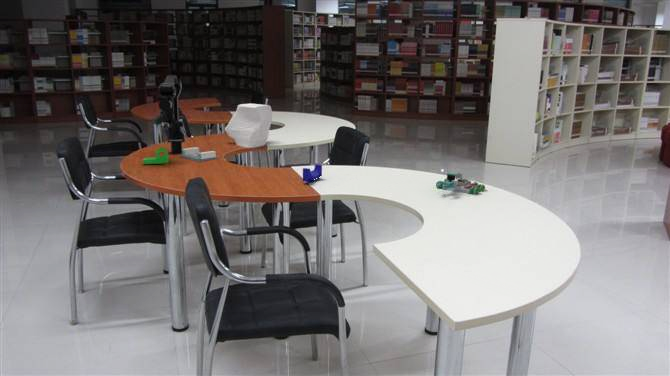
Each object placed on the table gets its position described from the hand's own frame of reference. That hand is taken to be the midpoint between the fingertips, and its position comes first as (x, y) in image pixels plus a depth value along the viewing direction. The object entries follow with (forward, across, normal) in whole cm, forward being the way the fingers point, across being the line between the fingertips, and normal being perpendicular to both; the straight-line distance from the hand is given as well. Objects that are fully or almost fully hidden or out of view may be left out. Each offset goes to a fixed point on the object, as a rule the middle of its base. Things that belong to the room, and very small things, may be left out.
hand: (169, 139), depth 282 cm
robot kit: (+12, +138, +52) cm, 148 cm away
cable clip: (+12, +78, +26) cm, 83 cm away
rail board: (+11, +2, +16) cm, 20 cm away
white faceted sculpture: (+12, -8, +60) cm, 62 cm away
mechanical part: (+12, -3, -7) cm, 14 cm away
